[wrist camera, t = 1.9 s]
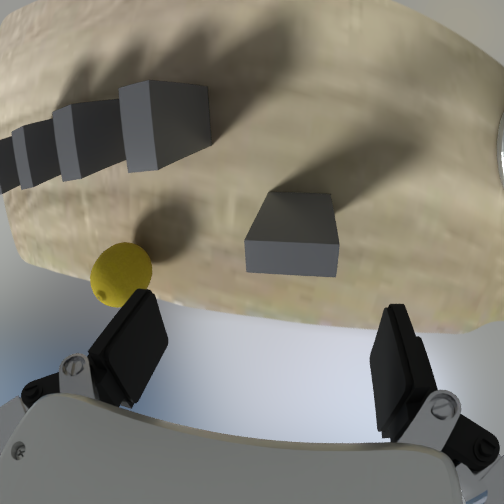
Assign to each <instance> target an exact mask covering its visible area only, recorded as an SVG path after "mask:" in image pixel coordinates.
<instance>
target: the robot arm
mask: <svg viewBox="0 0 504 504" xmlns="http://www.w3.org/2000/svg"><path fill="white" fill-rule="evenodd" d="M497 161H498V170H499V174H500V179H501V183H502V186H503V188H504V112H503V115H502V117H501V121H500V125H499V130H498V139H497ZM167 346H168V337H167V333H166V330H165V327H164V324H163V320H162V317H161V314H160V311H159V307H158V304H157V300H156V297H155V294H153V293H152V291H151V290H148V289H140V288H138V289H136V290H135V292H134V293H133V294H132V295H131V296H130V298H129V299H128V300H127V301H126V303H125V304H124V305H123V306H122V308H121V309H120V310H119V311H118V313H117V314H116V315H115V316H114V318H113V319H112V320H111V322H110V323H109V324H108V325H107V327H106V328H105V329H104V331H103V332H102V333H101V335H100V336H99V337H98V338H97V340H96V341H95V342H94V344H93V345H92V347H91V348H90V349H89V351H88V352H89V355H88V356H87V357H86V356H85V355H83V354H79V353H76V354H72V355H70V356H68V357H66V358H65V359H64V360H63V361H62V363H61V365H60V368H59V372H58V373H55V374H52V375H49V376H46V377H43V378H41V379H37V380H34V381H32V382H30V383H28V384H27V385H26V386H25V387H24V388H23V390H22V393H21V398H20V397H19V396H16V397H15V398H13V399H12V400H10V401H9V402H7V403H6V404H4V405H3V406H1V407H0V504H463V502H462V496H463V497H464V499H465V501H466V504H504V455H503V456H502V457H501V456H500V454H499V450H500V446H499V442H498V440H497V438H496V437H495V436H494V435H493V434H492V433H490V432H488V431H487V430H485V429H484V428H482V427H481V426H479V425H478V424H476V423H474V422H473V421H471V420H470V419H468V418H467V417H465V416H463V415H462V414H460V413H461V404H460V401H459V399H458V398H457V396H456V395H454V394H453V393H452V392H449V391H447V390H438V389H437V386H436V382H435V379H434V375H433V372H432V369H431V365H430V362H429V359H428V356H427V353H426V351H425V347H424V344H423V342H422V339H421V338H420V337H419V336H418V337H416V335H415V332H414V329H413V327H412V324H411V321H410V318H409V316H408V313H407V310H406V308H405V305H404V304H390V305H389V307H388V308H384V311H383V314H382V318H381V322H380V325H379V328H378V332H377V335H376V338H375V342H374V345H373V348H372V351H371V355H370V368H371V375H372V383H373V390H374V399H375V408H376V419H377V429H378V431H379V432H380V431H382V438H390V439H391V442H385V443H303V442H287V441H275V440H265V439H256V438H248V437H241V436H234V435H228V434H221V433H216V432H211V431H206V430H201V429H196V428H192V427H187V426H182V425H178V424H174V423H170V422H166V421H163V420H159V419H155V418H151V417H148V416H145V415H141V414H138V413H135V412H132V411H129V410H125V409H122V408H119V406H120V404H121V405H122V406H125V407H128V408H132V407H133V405H134V403H137V402H138V401H139V399H140V397H141V395H142V393H143V391H144V389H145V387H146V385H147V383H148V382H149V380H150V378H151V376H152V374H153V372H154V370H155V368H156V366H157V365H158V363H159V361H160V359H161V357H162V355H163V353H164V351H165V350H166V348H167ZM461 490H462V492H461Z"/></svg>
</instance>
